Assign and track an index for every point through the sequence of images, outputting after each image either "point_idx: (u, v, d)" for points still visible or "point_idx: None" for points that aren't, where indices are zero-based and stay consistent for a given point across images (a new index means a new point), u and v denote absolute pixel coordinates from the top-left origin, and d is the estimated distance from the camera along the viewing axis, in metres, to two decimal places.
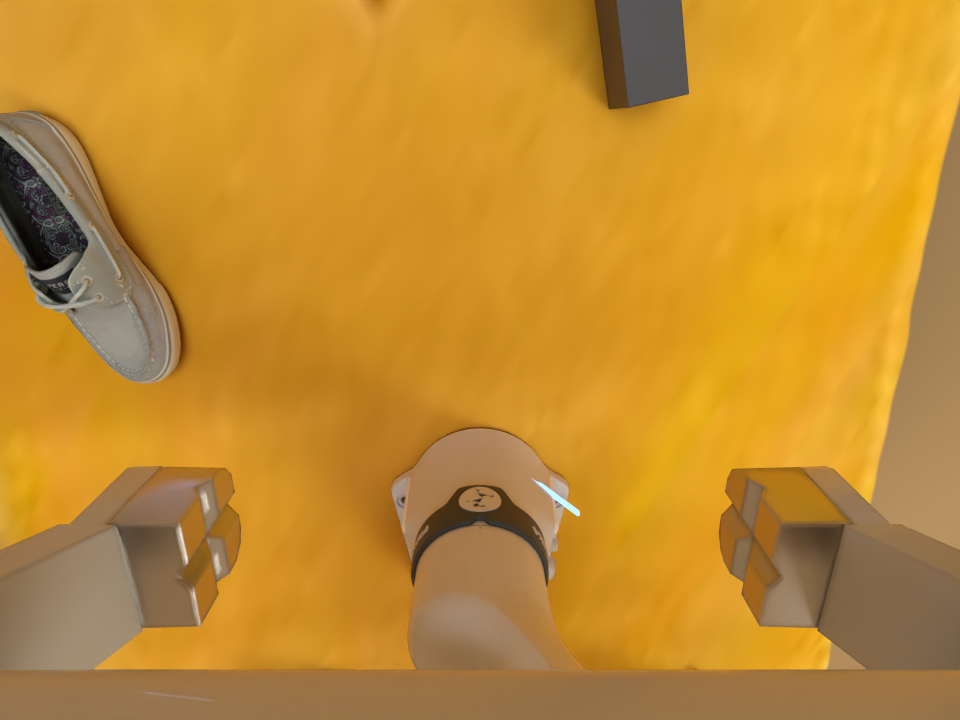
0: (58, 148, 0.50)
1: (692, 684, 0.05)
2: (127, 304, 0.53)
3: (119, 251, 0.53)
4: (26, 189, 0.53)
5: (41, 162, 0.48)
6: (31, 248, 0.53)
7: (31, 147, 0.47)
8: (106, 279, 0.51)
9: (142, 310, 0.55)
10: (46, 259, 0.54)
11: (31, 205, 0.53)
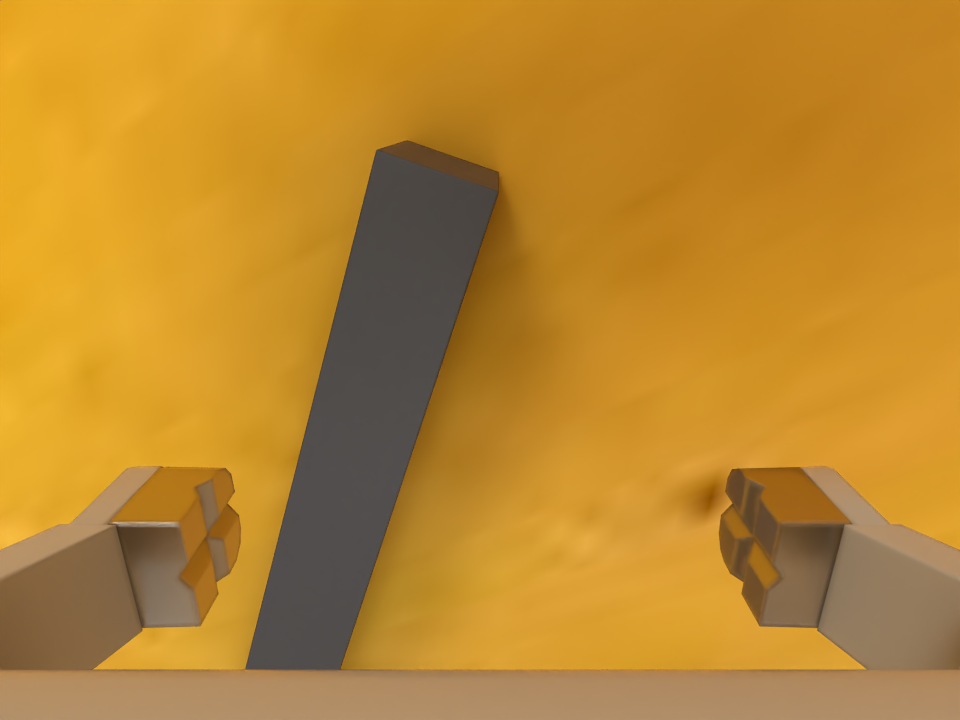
0: None
1: (692, 684, 0.05)
2: None
3: None
4: None
5: None
6: None
7: None
8: None
9: None
10: None
11: None
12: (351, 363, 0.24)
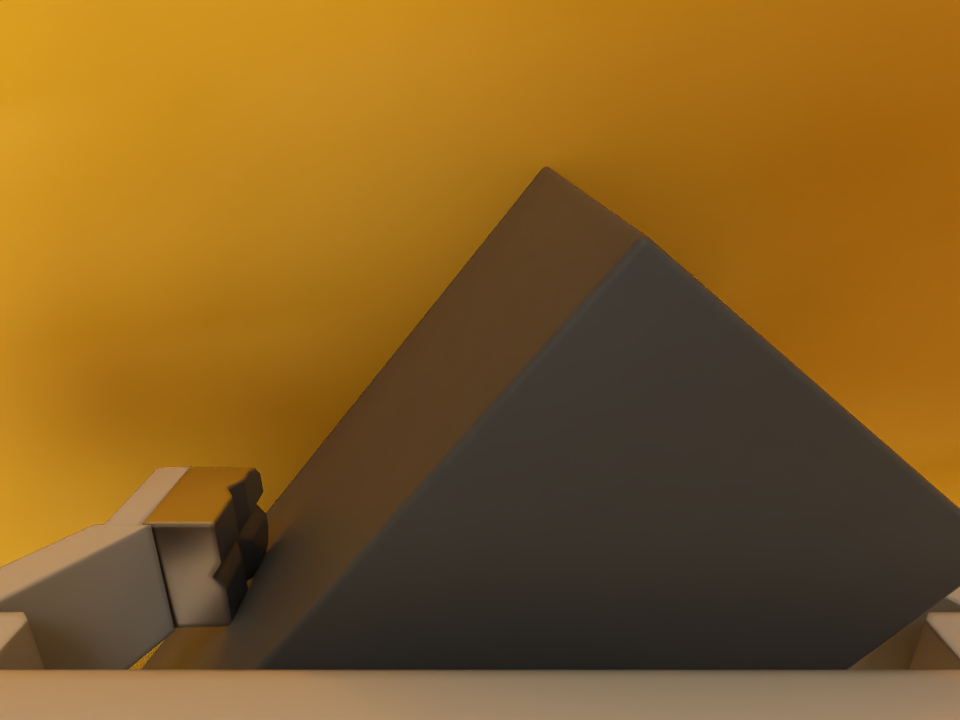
0: None
1: (692, 684, 0.05)
2: None
3: None
4: None
5: None
6: None
7: None
8: None
9: None
10: None
11: None
12: None
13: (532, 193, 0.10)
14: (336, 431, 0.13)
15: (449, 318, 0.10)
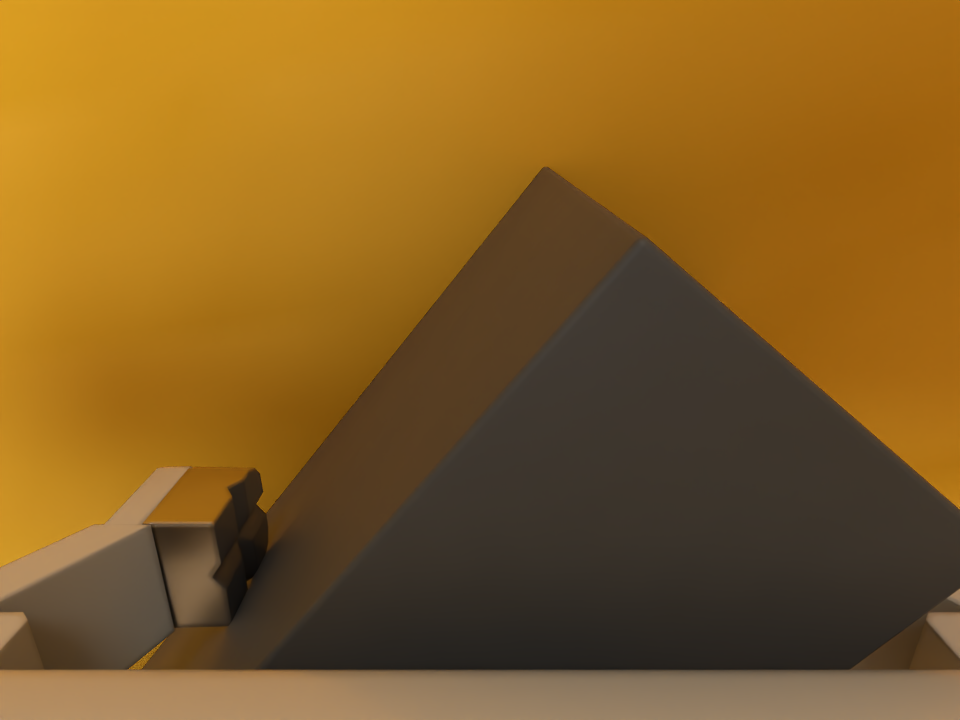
0: None
1: (692, 684, 0.05)
2: None
3: None
4: None
5: None
6: None
7: None
8: None
9: None
10: None
11: None
12: None
13: (532, 193, 0.10)
14: (336, 432, 0.13)
15: (448, 319, 0.09)
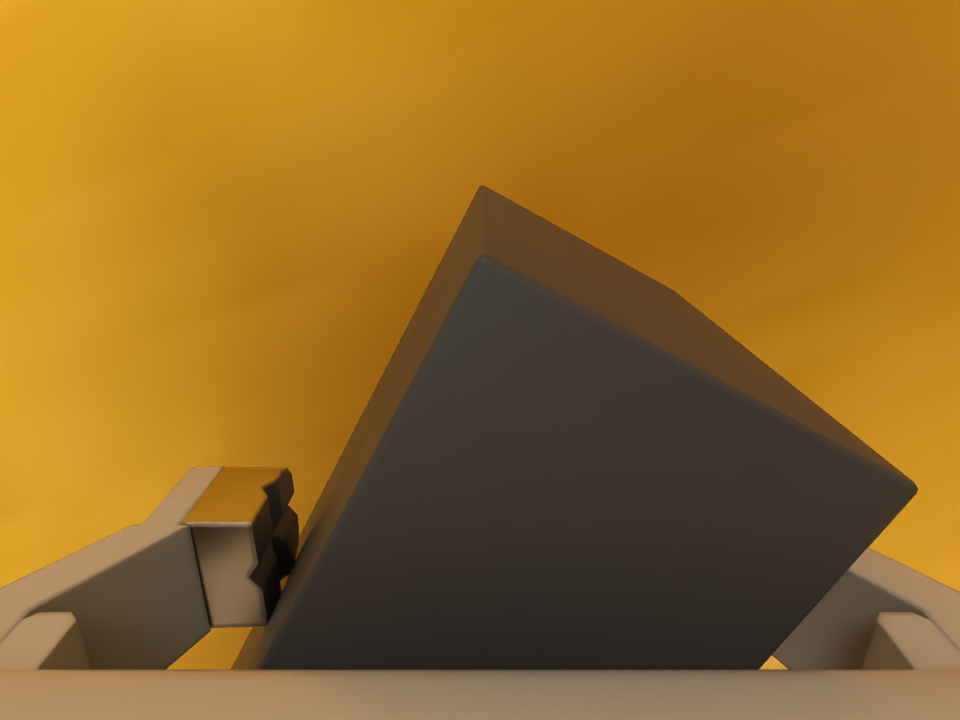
0: None
1: (692, 684, 0.05)
2: None
3: None
4: None
5: None
6: None
7: None
8: None
9: None
10: None
11: None
12: None
13: (467, 214, 0.11)
14: (334, 470, 0.13)
15: (403, 347, 0.10)
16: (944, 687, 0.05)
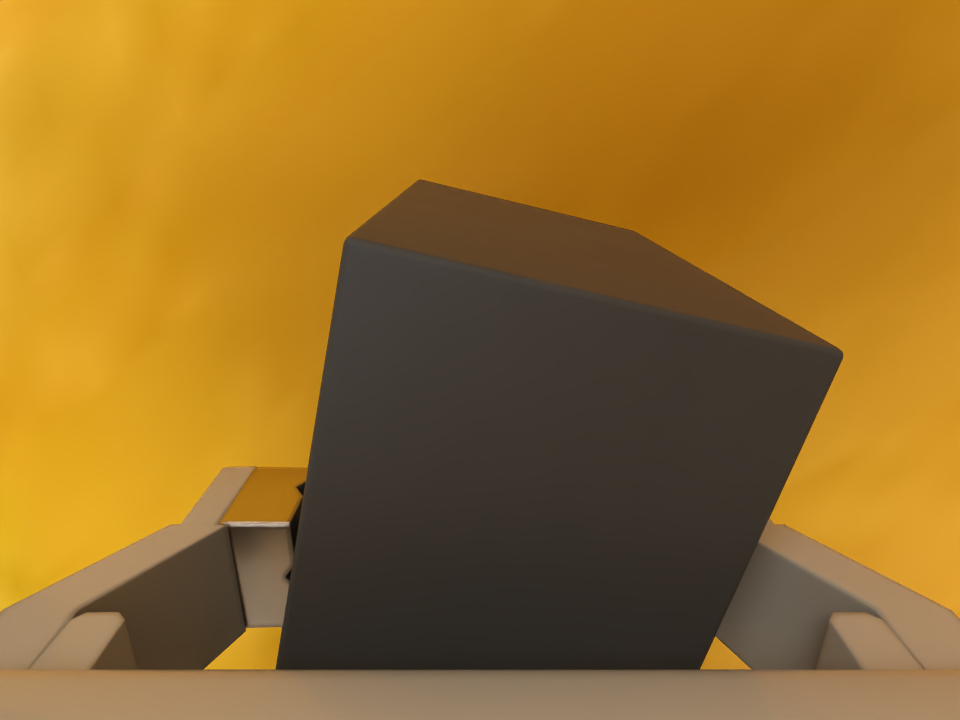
0: None
1: (692, 684, 0.05)
2: None
3: None
4: None
5: None
6: None
7: None
8: None
9: None
10: None
11: None
12: None
13: None
14: None
15: None
16: (944, 687, 0.05)
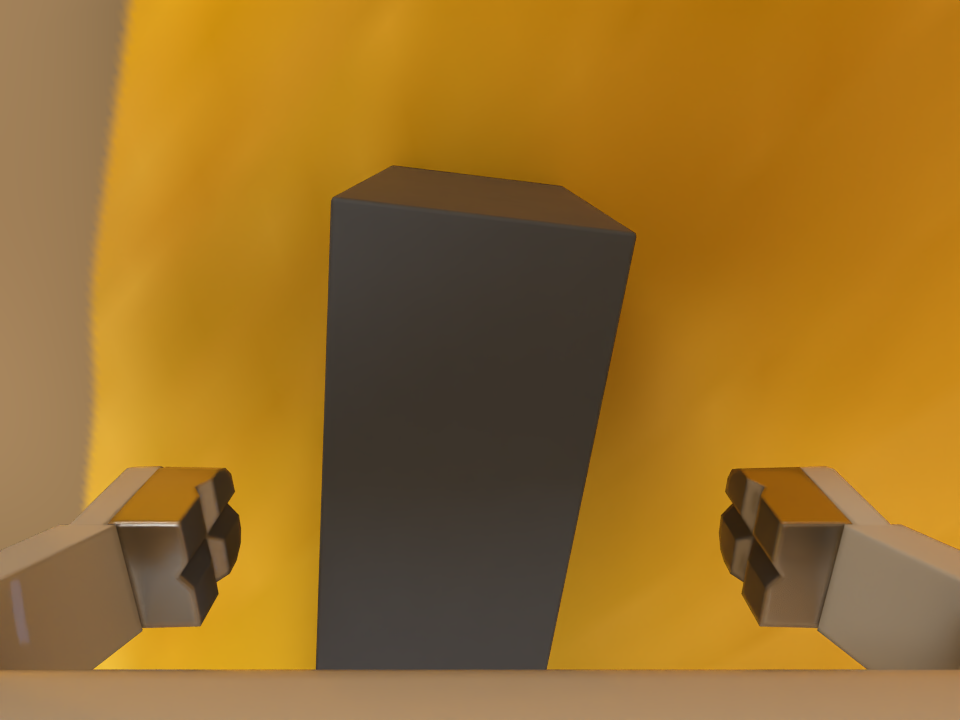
0: None
1: (692, 684, 0.05)
2: None
3: None
4: None
5: None
6: None
7: None
8: None
9: None
10: None
11: None
12: (375, 640, 0.12)
13: None
14: None
15: None
16: (944, 687, 0.05)
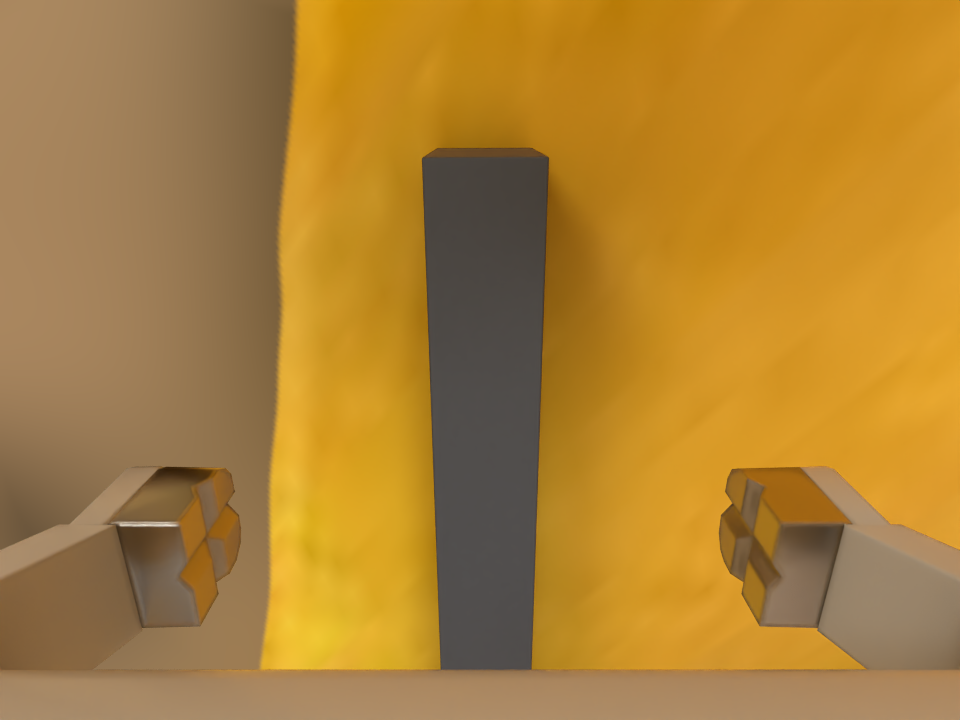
0: None
1: (692, 684, 0.05)
2: None
3: None
4: None
5: None
6: None
7: None
8: None
9: None
10: None
11: None
12: (457, 370, 0.25)
13: None
14: None
15: None
16: (944, 687, 0.05)
